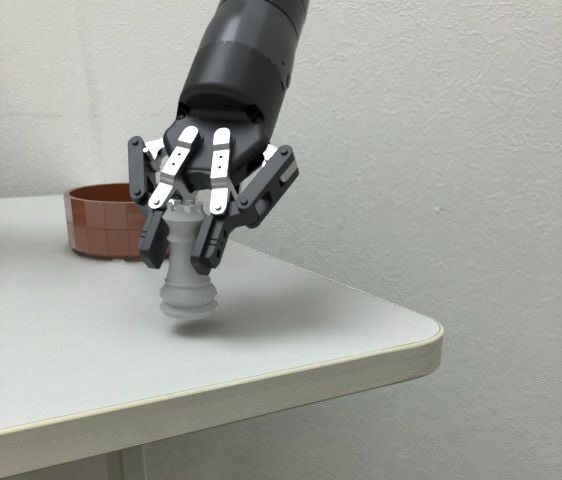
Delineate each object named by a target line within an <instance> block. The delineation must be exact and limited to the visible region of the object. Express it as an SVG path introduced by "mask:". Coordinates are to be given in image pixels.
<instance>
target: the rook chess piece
mask: <svg viewBox="0 0 562 480" xmlns="http://www.w3.org/2000/svg"><path fill="white" fill-rule="evenodd" d="M173 203H174V204H173ZM205 215H206V216H208V214H207V213H206V212H205V210H204V203H203V201H200V200H198V201H195V205H193V200H186V206H184V205H181V201H180V200H175V201H173V202H167V210H166V212H165V213H164V215H163V216H162V218H163V219H164V221H165V222H166V223H167V225H168V226H169V229H170V231H169V235H168V236H167V240H168V241H169V242H170V256H169V257H168V258H169V259H168V269H167V273H166V277H164V278H163V280H164V283H163V285H162V286H161V287H160V289H159V293H158V295H159V298H160V299H162V301H161V302H160V303H159V304H158V306H159V309H160V310H161V312H162V313H163V315H165V316H167V317H169V318H172V319H176V320H199V319H203V318H207V317H209V316H211V315H214V313H215V311H216V310H217V308H218V307H219V305H220V304H219V302H218V301H217V300H216V299H215V298H216V297H217V295H218V290H217V288H216V286H215V285H214V283H213V282H212V278H211V276H210V275H208V276H206V275H198V274H197V272H196V271H195V269H194V268H193V266H192V265H191V262H190V258H191V254H192V251H193V248H194V245H195V242H196V239H197V236H198V233H199V230H200V227H201V224H202V221H203V219H204V216H205Z"/></svg>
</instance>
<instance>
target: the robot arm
mask: <svg viewBox="0 0 562 480" xmlns="http://www.w3.org/2000/svg"><path fill="white" fill-rule="evenodd" d="M310 2H311V0H219V1H218V4H217V7H216V10H215V12H214V15H213V16H212V18H211V20H210V21H209V23H208V24H207V26H206V28H205V30H204V33H203V35H202V38H201V39H200V42H199V45H198V47H197V49H196V53H195V56H194V58H193V61H192V63H191V66H190V68H189V71H188V74H187V77H186V79H185V82H184V84H183V87H182V89H181V91H180V95H179V97H178V101H177V108H176V115H175V119H174V121H173V122H172V123H171V125H170V126H169V127H168V128H166V130H165V131H164V132H163V135H162V138H158V139H154V140H150V141H147V142H145V141H144V139H143V137H141V136H140V135H134V136H132V137H130V139H128V141H127V164H128V183H129V193H130V197H131V198H132V200H133V201H134V203H135V204H136V205H137V207H138V208H139V210H140V211H141V213H142V214H143V216H144V217H145V218H146V221H145V224H144V226H143V229H142V232H141V234H140V237H139V240H138V242H137V250H138V251H139V253H140V257H141V259H140V260H141V261H143V263H144V264H145V266H146V267H147V268H148V269H152V270H160V269H161V268H162V265H163V263H164V260H165V257H166V256H165V254H166V252H167V249H168V246H169V243H170V242H169V241H168V240H167V236H168V235H169V231H170V229H169V226H168V225H167V223H166V222H165V221H164V219H163V218H162V216H163V215H164V213H165V212H166V210H167V202H173V201H175V200H180V201H181V205H184V206H186V200H194V198H195V196H196V195H197V193H198V194H199V192H200V191H206V190H209V191H211V194H210V203H209V211H210V214H209V215H207V216H206V215H205V216H204V219H203V221H202V224H201V227H200V230H199V233H198V236H197V239H196V242H195V245H194V248H193V251H192V254H191V258H190V262H191V265H192V266H193V268H194V269H195V271H196V272H197V274H198V275H206V276H210V275H211V272H212V269H213V270H216V269H217V268H218V266H219V265H220V264H221V261H222V258H223V255H224V252H225V249H226V247H227V243H228V240H229V237H230V234H231V233H233V232H234V231H235V229H237V228H240V227H246V228H247V229H249V230H253V229H257V228H259V226H260V225H261V224H262V222H263V221H264V220H265V218H266V217H267V216H268V215H269V213H270V212H271V211H272V210H273V209H274V208H275V206H276V205H277V204H278V202H279V201H280V200H281V198H283V196H284V195H285V194H286V192H287V191H288V189H289V188H290V187H291V186H292V185H293V183H294V182H295V181H296V180H297V178H298V177H299V176H300V170H299V166H298V162H297V159H296V155H295V152H294V150H293V147H292V146H291V145H289V144H282V145H280V146H279V147H276V146H274V145H273V144H271V140H272V137H273V134H274V130H275V129H276V125H277V122H278V119H279V115H280V112H281V109H282V106H283V103H284V100H285V97H286V93H287V91H288V89H290V86H291V80H292V75H293V71H294V65H295V59H296V53H297V49H298V45H299V42H300V39H301V36H302V33H303V31H304V26H305V24H306V20H307V17H308V13H309V7H310ZM166 157H168V158H167V159H168V160H167V161H166V163H165V164H164V166H163V168H162V169H161V166H162V161H163V160H164V158H166ZM259 169H260V170H259ZM258 170H259V171H258ZM256 171H258V172H257V173H256V174H255V176H254V177H253V179H251V181H250V182H249V183H248V184H247V186H246V187H245V188H244V189H242V188H243V182H244V181H245V180H246V179H248V178H249V177H250V176H251V175H253V173H255V172H256ZM159 173H160V175H159V179H160V180H159V182H158V183H159V185H158V186H157V188H156V183H157V175H156V174H159ZM173 204H174V203H173Z"/></svg>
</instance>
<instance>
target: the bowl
mask: <svg viewBox="0 0 562 480" xmlns="http://www.w3.org/2000/svg"><path fill="white" fill-rule="evenodd" d="M159 183H160V182H156V188H157V186H158V185H159ZM195 201H199V192H198V193H197V195H196V196H195V198H194V200H193V205H195ZM63 205H64V211H65V212H64V213H65V220H66V221H65V222H66V230H67V238H68V246H69V247H70V248H72V249H73V250H75V251H78V252H81V253H83V254H84V255H87V256H89V257H95V258H99V259H108V260H124V261H125V260H127V261H128V260H142V259H141V257H140V253H139V251H138V250H137V242H138V240H139V237H140V234H141V232H142V229H143V226H144V224H145V221H146V218H145V217H144V216H143V214H142V213H141V211H140V210H139V208H138V207H137V205H136V204H135V203H134V201H133V200H132V198H131V197H130V193H129V182H109V183H96V184H89V185H81V186H77V187H73V188H69V189H67V190H65V191H63ZM165 257H170V243H169V246H168V249H167V252H166V254H165Z"/></svg>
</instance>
